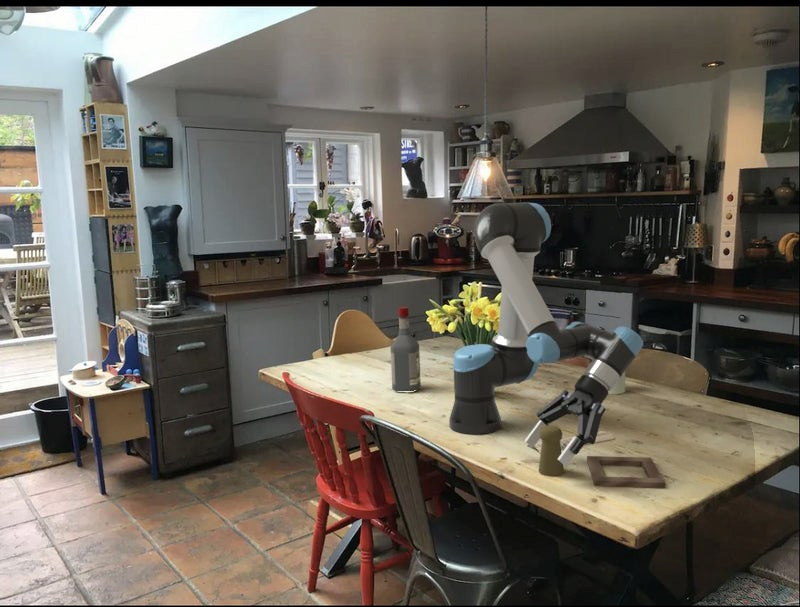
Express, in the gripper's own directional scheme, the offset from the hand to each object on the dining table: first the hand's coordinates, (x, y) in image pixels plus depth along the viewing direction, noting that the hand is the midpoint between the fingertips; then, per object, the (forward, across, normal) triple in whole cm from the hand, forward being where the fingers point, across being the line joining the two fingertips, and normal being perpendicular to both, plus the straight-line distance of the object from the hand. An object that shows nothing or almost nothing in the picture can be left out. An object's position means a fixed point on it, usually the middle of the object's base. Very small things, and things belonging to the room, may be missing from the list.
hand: (544, 453), depth 151 cm
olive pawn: (+2, 0, -5) cm, 5 cm away
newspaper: (-9, +13, -17) cm, 23 cm away
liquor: (+4, +86, -3) cm, 86 cm away
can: (-39, +49, -46) cm, 78 cm away
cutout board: (-8, -8, -15) cm, 19 cm away
